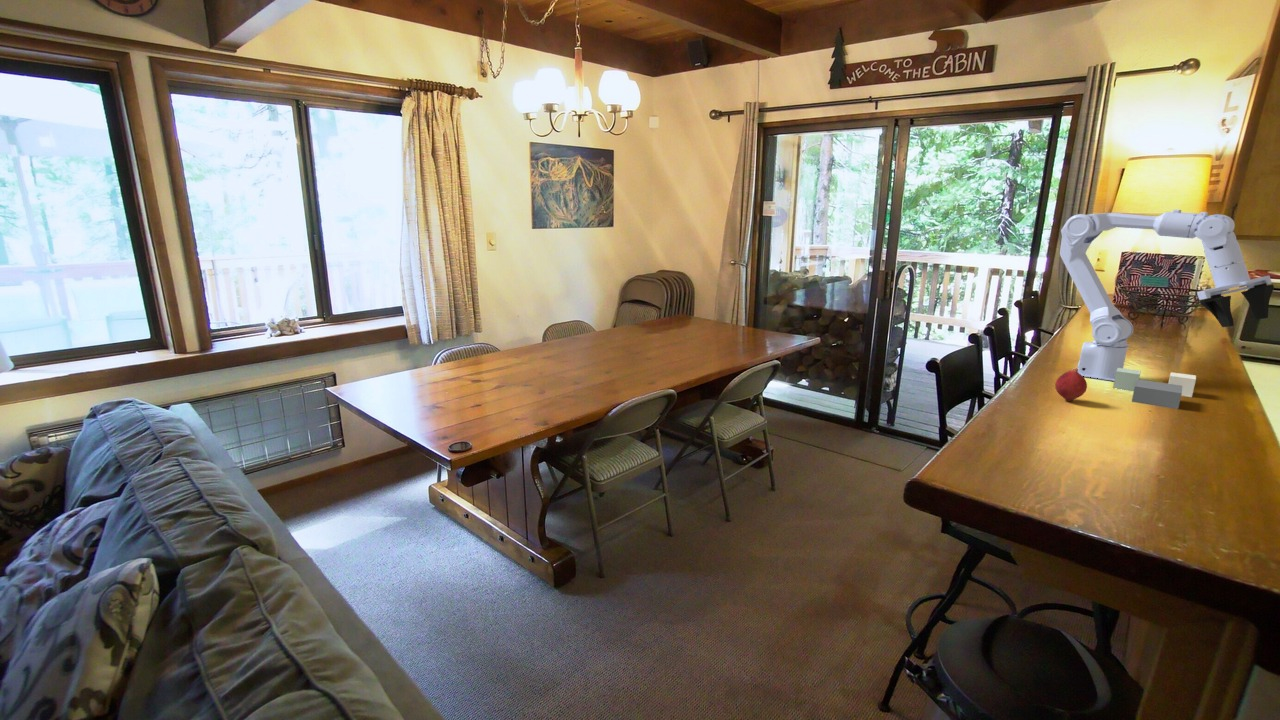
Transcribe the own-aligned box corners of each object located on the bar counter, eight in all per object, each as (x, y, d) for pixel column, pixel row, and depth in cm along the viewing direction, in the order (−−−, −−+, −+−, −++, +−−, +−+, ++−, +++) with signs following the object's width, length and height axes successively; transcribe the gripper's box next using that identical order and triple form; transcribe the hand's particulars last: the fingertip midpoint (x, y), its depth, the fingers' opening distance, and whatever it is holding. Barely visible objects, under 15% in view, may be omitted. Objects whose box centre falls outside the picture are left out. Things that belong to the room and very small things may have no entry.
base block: (1131, 402, 134) (1134, 386, 133) (1134, 395, 140) (1137, 379, 139) (1177, 410, 129) (1181, 393, 128) (1178, 402, 134) (1182, 385, 134)
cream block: (1166, 393, 140) (1170, 375, 139) (1166, 389, 143) (1170, 372, 142) (1191, 397, 137) (1196, 379, 136) (1191, 393, 140) (1195, 375, 139)
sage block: (1112, 388, 145) (1116, 371, 143) (1114, 384, 148) (1117, 367, 147) (1136, 392, 142) (1139, 374, 140) (1137, 388, 145) (1141, 370, 144)
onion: (1056, 403, 133) (1062, 369, 131) (1050, 396, 139) (1055, 363, 137) (1087, 406, 131) (1093, 372, 129) (1079, 398, 136) (1085, 366, 134)
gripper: (1210, 269, 129) (1229, 328, 128) (1277, 253, 128) (1296, 312, 127) (1183, 275, 136) (1200, 331, 135) (1246, 260, 135) (1264, 316, 134)
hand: (1245, 322), depth 131 cm, fingers open, 7 cm apart
